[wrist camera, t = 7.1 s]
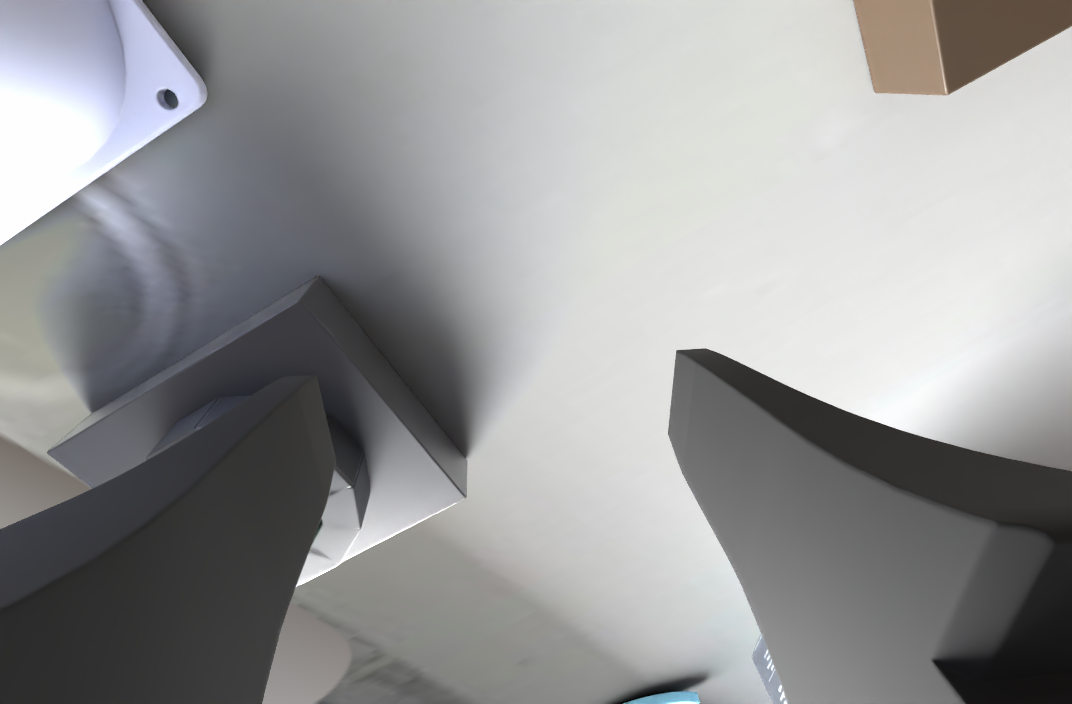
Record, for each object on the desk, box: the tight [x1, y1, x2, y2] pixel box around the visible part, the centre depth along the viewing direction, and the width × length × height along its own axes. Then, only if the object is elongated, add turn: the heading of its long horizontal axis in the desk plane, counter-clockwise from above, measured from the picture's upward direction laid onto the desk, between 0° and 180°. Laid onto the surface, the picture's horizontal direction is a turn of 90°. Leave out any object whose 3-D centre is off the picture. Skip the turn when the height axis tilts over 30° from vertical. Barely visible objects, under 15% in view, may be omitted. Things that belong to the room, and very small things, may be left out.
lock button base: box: [47, 276, 467, 586], centre depth 19 cm, size 10×9×4 cm
